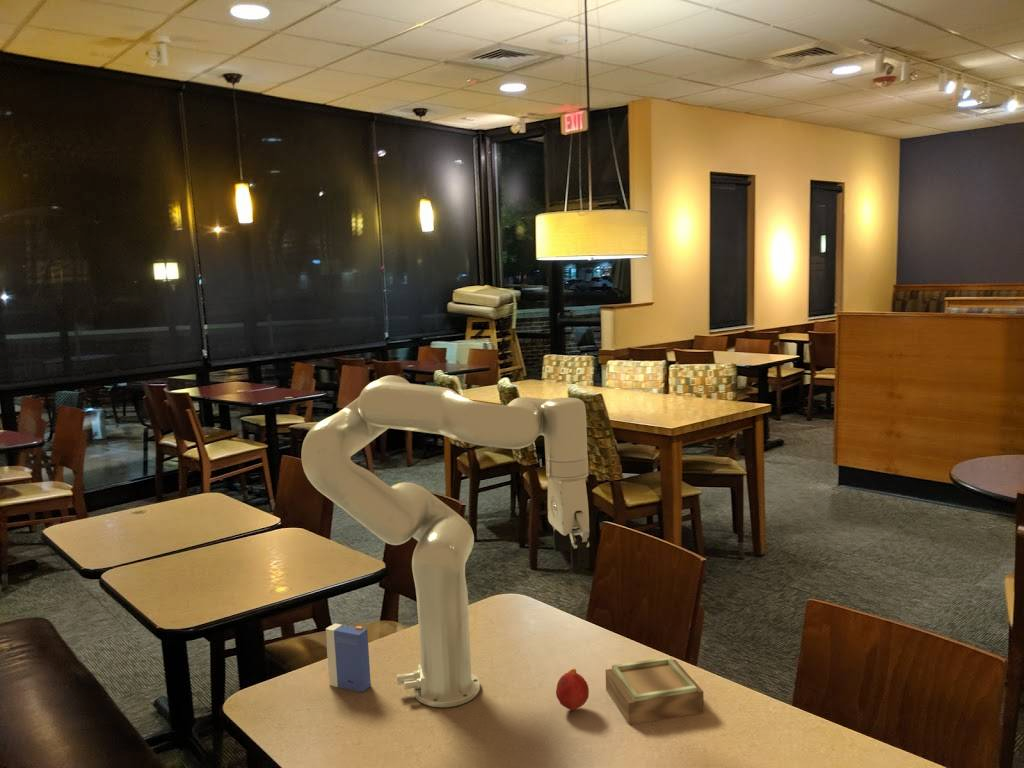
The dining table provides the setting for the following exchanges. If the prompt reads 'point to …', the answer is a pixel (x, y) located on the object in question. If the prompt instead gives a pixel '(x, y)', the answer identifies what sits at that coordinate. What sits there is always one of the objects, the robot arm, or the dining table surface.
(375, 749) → the dining table surface
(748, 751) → the dining table surface
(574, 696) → the onion
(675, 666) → the plinth
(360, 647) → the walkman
